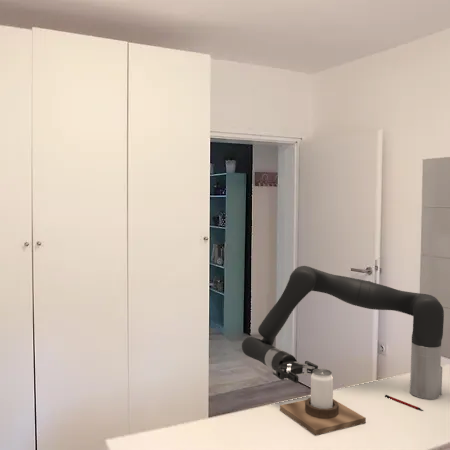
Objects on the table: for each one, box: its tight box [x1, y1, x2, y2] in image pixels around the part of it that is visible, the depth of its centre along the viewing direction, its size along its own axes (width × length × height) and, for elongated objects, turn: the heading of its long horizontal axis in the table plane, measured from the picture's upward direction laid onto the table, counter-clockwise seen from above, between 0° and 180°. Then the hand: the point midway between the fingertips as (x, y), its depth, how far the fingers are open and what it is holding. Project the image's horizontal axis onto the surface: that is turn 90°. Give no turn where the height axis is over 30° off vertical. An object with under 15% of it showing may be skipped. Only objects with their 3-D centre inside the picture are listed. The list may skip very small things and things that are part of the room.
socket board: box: [279, 397, 367, 436], centre depth 148 cm, size 18×18×4 cm
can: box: [310, 368, 334, 409], centre depth 148 cm, size 6×6×12 cm
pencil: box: [384, 394, 424, 412], centre depth 158 cm, size 1×14×1 cm, turn 36°
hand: (308, 377), depth 154 cm, fingers open, 8 cm apart
